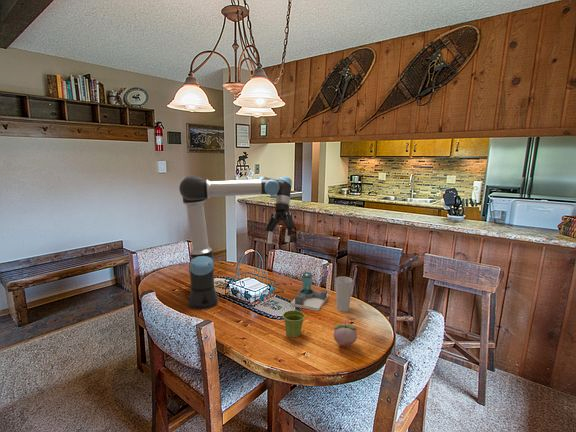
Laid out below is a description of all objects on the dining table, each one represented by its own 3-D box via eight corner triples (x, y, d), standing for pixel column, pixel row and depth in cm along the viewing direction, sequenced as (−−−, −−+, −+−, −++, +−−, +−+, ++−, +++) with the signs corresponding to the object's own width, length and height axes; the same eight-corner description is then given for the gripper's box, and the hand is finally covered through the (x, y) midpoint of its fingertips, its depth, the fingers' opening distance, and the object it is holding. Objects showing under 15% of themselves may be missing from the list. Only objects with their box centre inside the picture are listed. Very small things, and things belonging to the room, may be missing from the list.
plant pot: (291, 326, 144) (292, 308, 143) (308, 333, 138) (309, 314, 137) (278, 334, 137) (278, 315, 136) (295, 342, 131) (295, 323, 130)
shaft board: (318, 311, 158) (318, 301, 157) (290, 305, 164) (290, 295, 163) (328, 296, 175) (328, 287, 174) (302, 292, 180) (302, 283, 179)
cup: (351, 313, 156) (352, 283, 153) (333, 312, 157) (334, 282, 154) (351, 306, 164) (352, 277, 161) (334, 304, 165) (335, 275, 163)
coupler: (311, 296, 171) (312, 275, 169) (302, 297, 170) (303, 275, 168) (310, 293, 176) (311, 272, 173) (301, 293, 175) (302, 272, 173)
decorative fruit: (353, 339, 134) (354, 317, 132) (358, 351, 126) (359, 327, 124) (331, 340, 133) (331, 317, 131) (334, 351, 125) (335, 328, 123)
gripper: (303, 203, 170) (300, 242, 165) (272, 209, 188) (267, 245, 182) (294, 199, 165) (289, 239, 160) (262, 205, 183) (257, 242, 177)
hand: (278, 242), depth 171 cm, fingers open, 13 cm apart
